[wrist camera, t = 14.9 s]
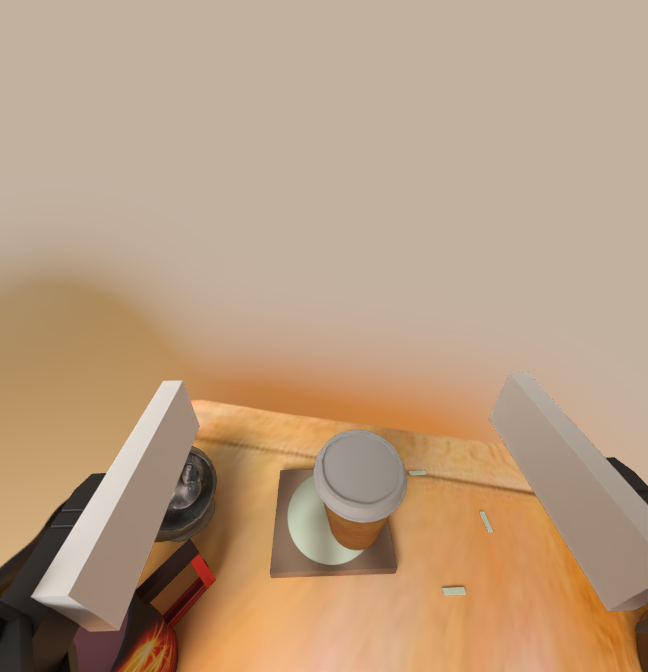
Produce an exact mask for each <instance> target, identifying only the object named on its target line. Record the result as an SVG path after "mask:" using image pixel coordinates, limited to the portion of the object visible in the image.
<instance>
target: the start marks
mask: <svg viewBox="0 0 648 672" xmlns="http://www.w3.org/2000/svg"><path fill="white" fill-rule="evenodd" d="M409 473H410V476H416V475H427V474H426V471H409ZM479 513H480V515H481V518H482V520H483V522H484V524H485V527H486V529H487V531H488V532H493V530H492V528H491V525H490V523H489V521H488V519H487V517H486V514H485V512H484V511H480V512H479ZM442 591H443V594H444V596H447V595H466V591H465V588H464V587H454V588H442Z"/></svg>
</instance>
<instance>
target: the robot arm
mask: <svg viewBox="0 0 648 672" xmlns="http://www.w3.org/2000/svg"><path fill="white" fill-rule="evenodd" d="M489 420H490V421H491V423H492V425H493V426H494V428H495V429H496V431H497V433H498V434H499V436H500V438H501V439H502V441H503V442H504V444H505V446H506V447H507V449H508V451H509V452H510V454H511V455H512V457H513V459H514V460H515V462H516V464H517V465H518V467H519V468H520V470H521V472H522V473H523V475H524V477H525V478H526V480H527V481H528V483H529V485H530V486H531V488H532V490H533V491H534V493H535V494H536V496H537V498H538V499H539V501H540V503H541V504H542V506H543V507H544V509H545V511H546V512H547V514H548V516H549V517H550V519H551V520H552V522H553V524H554V525H555V527H556V529H557V530H558V532H559V533H560V535H561V537H562V538H563V540H564V542H565V543H566V545H567V546H568V548H569V550H570V551H571V553H572V555H573V556H574V558H575V559H576V561H577V563H578V564H579V566H580V568H581V569H582V571H583V572H584V574H585V576H586V577H587V579H588V580H589V582H590V584H591V585H592V587H593V589H594V590H595V592H596V593H597V595H598V597H599V598H600V600H601V602H602V603H603V605H604V606H605V608H606V610H607V611H628V610H636V609H638V608H640V607H642V606H644V605H646V604H648V486H647V485H646V484H645V483H644V482H643V481H642V479H641V478H640V477H639V476H638V475H637V474H636V473H635V472H634V471H632V470H631V469H630V468H628V467H627V466H625V465H624V464H623V463H621V462H620V461H618V460H617V459H616V458H605V457H604V456H603V455H602V454H601V453H600V452H599V450H598V449H597V448H596V447H595V446H594V445H593V444H592V443H591V442H590V440H589V439H588V438H587V437H586V436H585V435H584V434H583V433H582V432H581V430H580V429H579V428H578V427H577V426H576V425H575V424H574V423H573V422H572V421H571V419H570V418H569V417H568V416H567V415H566V414H565V413H564V412H563V411H562V409H561V408H560V407H559V406H558V405H557V404H556V403H555V402H554V401H553V399H551V397H550V396H549V395H548V394H547V393H546V392H545V391H544V389H543V388H542V387H541V386H540V385H539V384H538V383H537V382H536V381H535V379H534V378H533V377H532V376H531V375H530V374H529V373H528V372H516V373H509V375H508V377H507V379H506V381H505V383H504V386H503V388H502V390H501V392H500V395H499V397H498V399H497V401H496V403H495V405H494V408H493V410H492V412H491V414H490V416H489ZM199 427H200V426H199V423H198V420H197V418H196V415H195V412H194V409H193V407H192V404H191V401H190V399H189V396H188V393H187V391H186V388H185V385H184V383H183V381H163V383H162V384H161V386H160V387H159V389H158V391H157V392H156V394H155V396H154V397H153V399H152V400H151V402H150V404H149V405H148V407H147V409H146V410H145V412H144V414H143V415H142V417H141V418H140V420H139V422H138V423H137V425H136V426H135V428H134V430H133V431H132V433H131V435H130V436H129V438H128V439H127V441H126V443H125V445H124V446H123V448H122V449H121V451H120V453H119V454H118V456H117V458H116V459H115V461H114V462H113V464H112V466H111V467H110V469H109V471H108V472H107V473H101V474H91V475H90V476H89V477H88V478H87V479H86V480H85V481H84V482H83V483H82V484H81V485H80V486H79V487H77V488H76V489H75V490H74V492H73V493H72V495H71V496H70V498H69V499H68V501H67V502H66V504H65V505H64V507H63V508H62V512H61V513H59V514H58V515H57V517H56V518H55V520H54V521H53V523H52V524H51V528H50V529H48V530H47V532H46V533H45V535H44V536H43V538H42V539H41V541H40V542H39V544H38V545H37V547H36V548H35V550H34V551H33V553H32V554H31V555H30V557H29V558H28V560H27V561H26V563H25V564H24V566H23V567H22V569H21V570H20V572H19V573H18V575H17V576H16V578H15V579H14V581H13V582H12V584H11V585H10V587H9V588H8V590H7V591H6V592H5V594H4V595H3V596H2V598H1V599H0V672H79V665H78V658H77V651H76V646H75V643H74V641H73V638H74V636H75V634H76V632H77V630H78V628H79V626H81V627H83V628H84V629H86V630H88V631H90V632H95V631H119V630H120V627H121V625H122V622H123V620H124V617H125V615H126V612H127V610H128V607H129V604H130V602H131V599H132V597H133V594H134V592H135V589H136V587H137V584H138V582H139V579H140V577H141V574H142V571H143V569H144V566H145V564H146V561H147V559H148V556H149V554H150V551H151V549H152V546H153V543H154V541H155V538H156V536H157V533H158V531H159V528H160V526H161V523H162V521H163V518H164V516H165V513H166V510H167V508H168V505H169V503H170V500H171V498H172V495H173V493H174V490H175V488H176V485H177V483H178V480H179V477H180V475H181V472H182V470H183V467H184V465H185V462H186V460H187V457H188V455H189V452H190V449H191V447H192V444H193V442H194V439H195V437H196V434H197V432H198V429H199ZM635 631H636V632H637V646H638V653H639V658H640V662H641V665H642V669H643V672H648V610H647V611H646V612H645V613H644V615H643V616H642V618H641V620H640V622H638V623H637V626H636V630H635Z"/></svg>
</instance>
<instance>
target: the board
mask: <svg viewBox="0 0 648 672" xmlns="http://www.w3.org/2000/svg"><path fill="white" fill-rule="evenodd" d="M313 475H314V469H312V470H280V479H279V489H278V499H277V509H276V518H275V528H274V538H273V548H272V558H271V568H270V575H271V578H283V577H310V576H338V575H365V574H393V573H396V570H397V566H396V561H395V555H394V550H393V545H392V540H391V534H390V529H389V524H388V519H387V521H386V523H385V525H384V527H383V528H382V530H381V532H380V534H379V535H378V537H377V539H376V541H375V542H374V543H373V544H372V545H371V546H370V547H368V548H366V549H364V550H350V549H347V548H345V547H343V546H342V545H341V544H339V543H338V542H337V541H336V539H335V538H334V536H333V534H332V532H331V530H330V525H329V522H328V518H327V515H326V510H325V507H324V503H323V500H322V499H321V498H320V496H319V494H318V492H317V489H316V486H315V482H314V476H313Z"/></svg>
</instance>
